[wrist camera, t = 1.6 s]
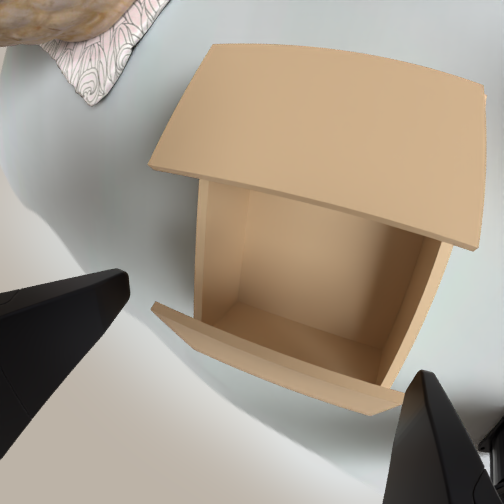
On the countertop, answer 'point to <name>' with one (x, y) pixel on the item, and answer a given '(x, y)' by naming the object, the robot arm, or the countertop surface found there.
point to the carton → (313, 280)
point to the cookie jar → (81, 36)
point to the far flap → (280, 366)
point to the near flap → (336, 135)
